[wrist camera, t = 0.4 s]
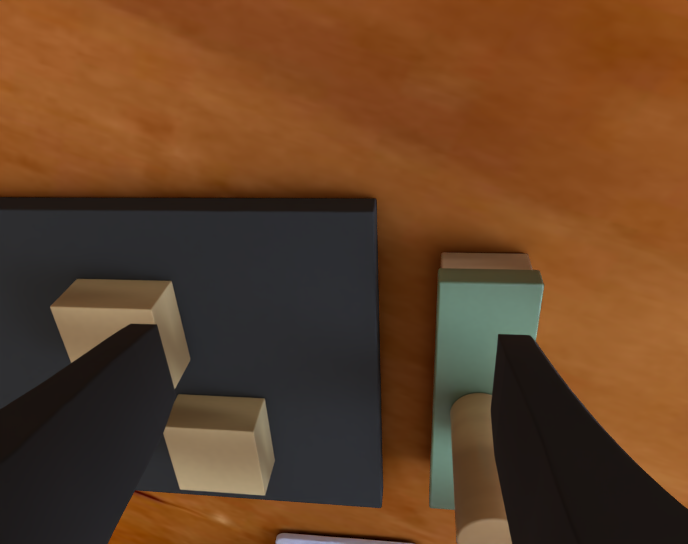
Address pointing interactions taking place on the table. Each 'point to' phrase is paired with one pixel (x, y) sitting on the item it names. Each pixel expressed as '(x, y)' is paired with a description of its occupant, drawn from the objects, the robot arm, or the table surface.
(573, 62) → the table surface
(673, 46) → the table surface
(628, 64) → the table surface
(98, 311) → the offcut
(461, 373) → the brush
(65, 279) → the mat
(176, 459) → the offcut
